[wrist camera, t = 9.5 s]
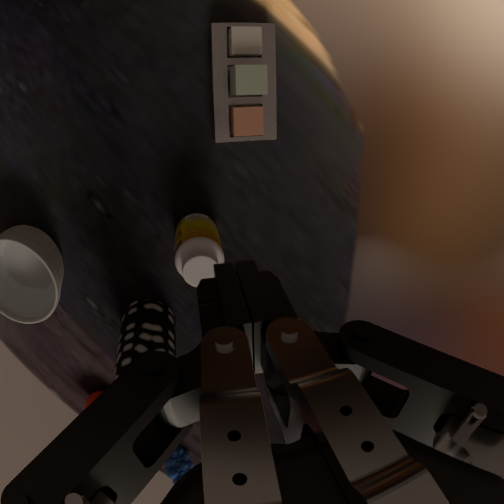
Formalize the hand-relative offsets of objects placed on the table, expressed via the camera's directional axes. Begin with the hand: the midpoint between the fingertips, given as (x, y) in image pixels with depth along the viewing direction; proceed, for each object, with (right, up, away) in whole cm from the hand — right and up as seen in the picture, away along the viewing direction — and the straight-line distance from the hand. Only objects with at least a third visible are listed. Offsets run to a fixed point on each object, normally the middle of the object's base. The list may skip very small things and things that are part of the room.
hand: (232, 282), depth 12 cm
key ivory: (-1, +25, +19) cm, 32 cm away
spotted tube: (-15, -9, +36) cm, 40 cm away
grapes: (-18, -47, +55) cm, 74 cm away
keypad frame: (-1, +21, +22) cm, 31 cm away
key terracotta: (0, +17, +24) cm, 29 cm away
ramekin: (-31, 0, +27) cm, 41 cm away
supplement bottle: (-7, +4, +30) cm, 31 cm away
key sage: (0, +20, +20) cm, 28 cm away
